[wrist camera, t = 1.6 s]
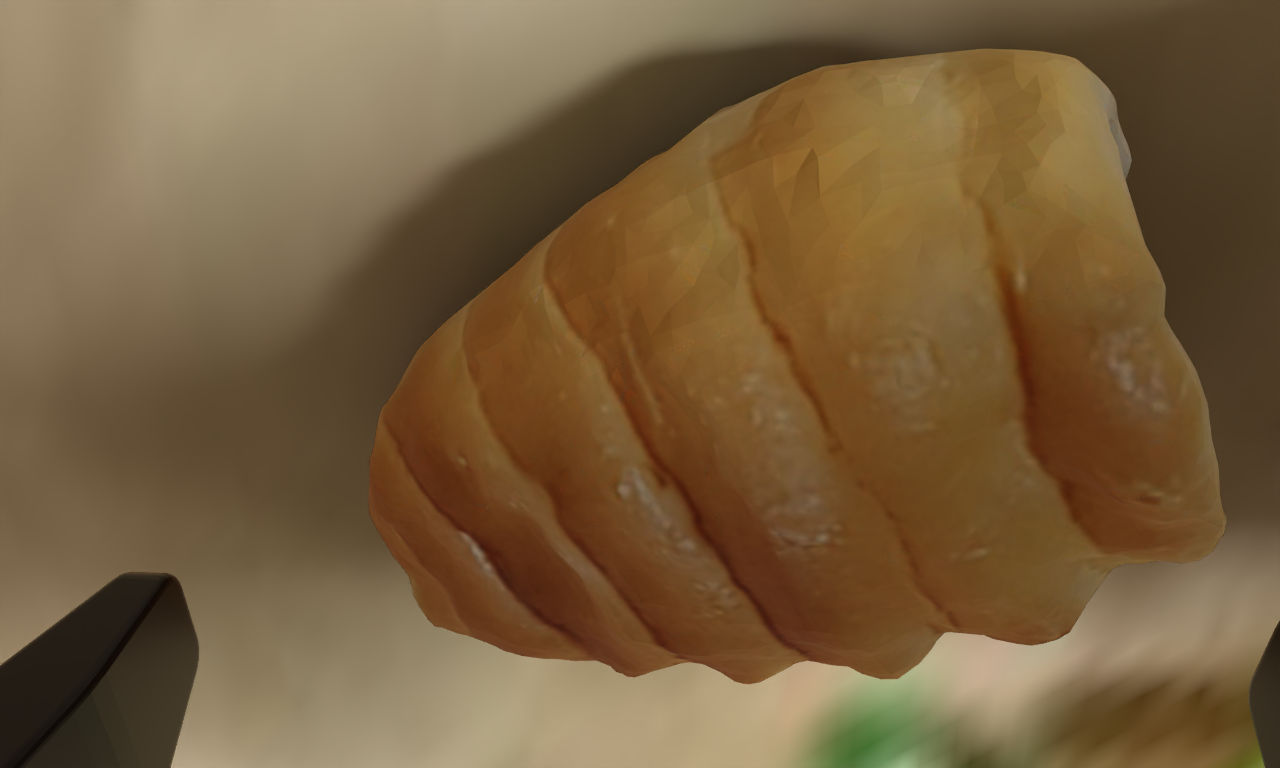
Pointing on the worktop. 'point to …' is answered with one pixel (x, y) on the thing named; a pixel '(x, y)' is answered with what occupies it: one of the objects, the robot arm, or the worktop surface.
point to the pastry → (813, 389)
